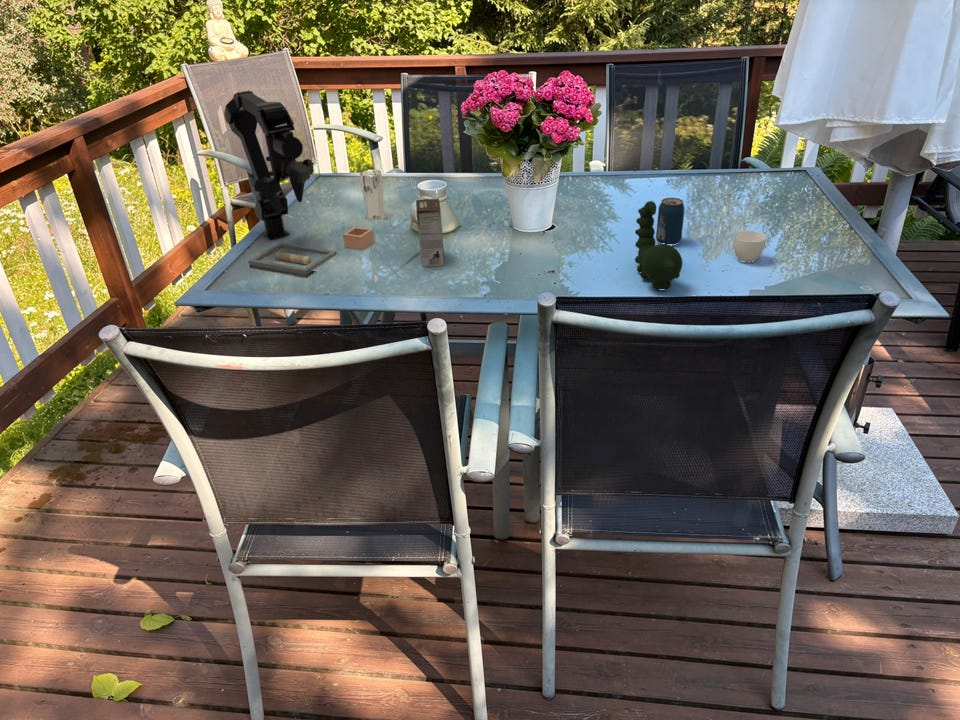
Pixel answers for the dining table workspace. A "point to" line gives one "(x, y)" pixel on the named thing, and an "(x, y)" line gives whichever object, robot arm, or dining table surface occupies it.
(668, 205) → the soda can
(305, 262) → the wooden dowel
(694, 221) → the dining table surface
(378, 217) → the beer glass
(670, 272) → the toy figurine
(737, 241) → the cup
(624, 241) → the dining table surface
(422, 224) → the coffee box
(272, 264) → the charcoal frame
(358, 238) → the terracotta box
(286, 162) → the robot arm
